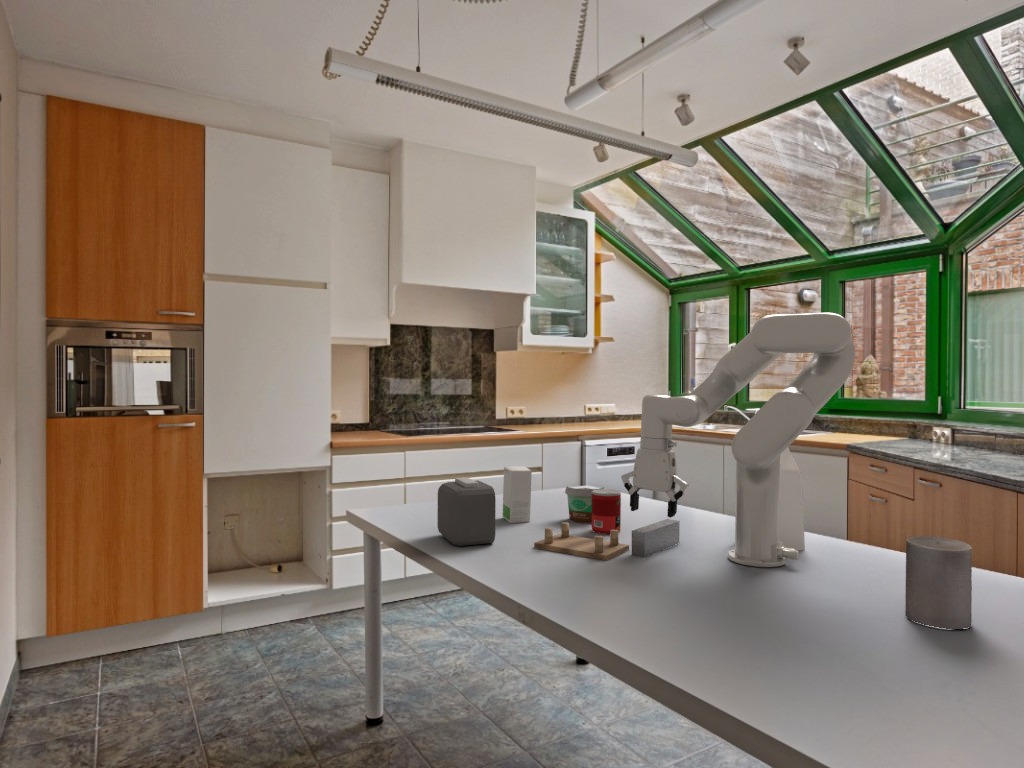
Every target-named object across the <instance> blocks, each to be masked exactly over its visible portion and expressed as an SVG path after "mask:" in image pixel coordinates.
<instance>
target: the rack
mask: <svg viewBox="0 0 1024 768" xmlns="http://www.w3.org/2000/svg"><path fill="white" fill-rule="evenodd" d="M553 530H554V528H552V527H544V538H543V539H541V540H538V541H535V542H534V543H533V548H535V549H541V550H546V551H550V552H556V553H562V554H568V555H574V556H579V557H583V558H584V557H586V558H591V559H596V560H601V561H604V562H605V561H606V562H607V561H609V560H611V559H613V558H615V557H617V556H619V555H621V554H624V553H626V552H627V551H629V550H630V544H625V543H621V542H620V543H619V532H618V530H610V534H609V541H606V540H604V536H603V535H595V536H594V538H588V537H583V536H575V535H570V523H569V522H566V521H565V522H561V526H560V530H561V531H560V533H557V534H554V531H553ZM553 534H554V535H553Z"/></svg>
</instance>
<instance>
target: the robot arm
mask: <svg viewBox="0 0 1024 768" xmlns="http://www.w3.org/2000/svg"><path fill="white" fill-rule="evenodd" d="M810 353H811V354H813V356H812V358H811V360H810V361H809V362H808V363H807V365H806V366H805V367H804V368H803V369H802V370H801V371H800V372H799V373H798V375H796V377H794V378H793V380H792V381H791V382H790V383H789V384H788V385H786V387H785V388H784V389H782V390H780V391H778V392H776V393H775V394H774V395H772V396H771V397H770V398H768V400H767V401H766V402H765V403H764V404H763V405H762V406H761V407H760V409H759V410H757V412H755V414H753V416H752V417H751V418H750V419H749V420H748V421H747V422H746V423H745V424H744V425H743V426H742V427H741V428H740V429H739V430H738V431H737V432H736V434H735V435H734V437H733V438H732V441H731V454H732V456H733V458H734V459H735V461H736V464H735V465H736V466H735V467H736V468H735V502H734V505H735V506H734V507H735V512H734V513H735V522H734V525H735V526H734V527H735V529H734V531H735V532H734V536H735V537H734V549H731V550H729V551H728V553H727V558H728V559H729V561H731V562H733V563H736V564H741V565H743V566H744V565H745V566H747V567H748V566H750V567H756V568H757V567H758V568H777V567H782V566H784V565H786V564H787V559H791V560H797V561H798V560H799V557H800V552H799V551H800V550H795V549H790V548H789V549H788V548H785V547H783V542H782V541H779V487H780V454H781V453H782V452H783V451H784V450H785V449H786V448H787V447H788V448H789V446H790V445H791V444H792V443H793V442H794V441H796V439H797V438H798V437H799V436H800V435H802V433H803V432H804V431H805V430H806V429H807V428H808V427H809V426H810V425H811V423H812V421H813V420H814V417H815V415H816V414H817V413H818V412H819V411H820V410H821V409H822V408H823V407H824V406H825V405H826V404H827V403H828V402H829V401H830V400H831V398H832V397H833V396H834V395H835V394H836V393H837V392H838V391H839V390H840V389H841V388H842V386H843V385H844V384H845V383H846V382H847V381H848V378H849V377H850V375H851V374H852V372H853V369H854V366H855V362H856V346H855V343H854V339H853V336H852V326H851V325H850V322H849V321H848V320H847V319H846V318H845V317H844V316H842V315H840V314H838V313H834V312H816V313H815V312H814V313H795V314H794V313H793V314H768V315H764V316H762V317H761V318H758V320H757V321H756V322H755V323H754V325H753V326H752V328H751V330H750V331H749V333H747V335H745V336H744V337H743V338H742V339H741V340H739V342H737V344H735V346H733V347H732V348H731V349H730V350H728V351H727V353H725V354H724V355H723V356H722V357H721V358H720V359H719V360H718V361H717V363H716V365H715V367H714V369H713V370H712V372H711V373H710V374H709V375H708V376H707V378H705V379H704V380H703V381H702V383H700V384H699V385H698V386H697V387H696V388H695V389H693V390H692V391H691V392H690V393H688V395H681V396H679V395H678V396H670V395H665V394H646V395H645V396H643V398H642V403H641V418H640V419H641V420H640V421H641V422H640V439H639V440H640V442H639V445H640V448H638V449H637V450H636V455H635V459H634V465H633V470H632V471H629V472H627V473H625V474H622V475H621V480H622V483H623V486H624V488H625V489H626V490H627V492H628V494H629V507H630V511H631V512H635V511H637V510H639V506H640V505H639V504H640V503H639V502H640V494H639V493H638V492H639V491H640V490H644V491H645V490H646V491H653V492H659V493H665V494H666V495H667V496H668V498H669V500H668V502H667V518H673V517H675V515H676V514H677V511H678V508H677V507H678V500H680V498H682V497H683V496H684V495H685V493H686V492H687V490H688V488H689V486H690V484H689V483H688V482H686V481H684V480H683V479H682V478H680V477H679V476H678V473H677V472H678V471H677V458H676V453H675V451H674V450H672V449H673V448H677V447H678V445H677V444H678V442H677V441H674V440H673V438H672V437H673V426H676V427H677V426H678V427H683V428H692V427H695V426H697V425H700V424H702V423H704V422H705V421H706V420H707V419H708V418H709V417H711V416H712V415H713V414H714V413H716V411H718V410H720V408H722V406H723V405H725V403H727V402H728V401H729V400H730V399H731V398H733V397H734V396H735V395H736V394H737V393H739V392H740V391H741V390H743V389H744V388H745V387H746V386H747V385H748V384H749V383H750V382H752V381H753V380H754V379H755V378H756V377H757V376H758V375H759V374H760V373H762V372H763V371H764V370H766V368H768V367H769V366H770V365H771V364H773V363H774V362H775V361H776V360H777V359H778V358H780V357H781V356H782V355H783V354H810ZM630 478H632V483H631V482H630ZM677 486H679V490H678V491H676V489H677Z"/></svg>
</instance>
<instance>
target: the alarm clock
mask: <svg viewBox="0 0 1024 768" xmlns="http://www.w3.org/2000/svg"><path fill="white" fill-rule="evenodd" d="M494 489H495V488H494V487H493V486H491V485H489V484H487V483H486V482H483V481H480V480H473V479H472V478H469V477H466V476H465V477H455V479H454V481H447V482H444V483H442V484H441V485H440V486H439V487H438V490H437V531H438V533H440V534H441V535H442V536H443V537H444V538H445V539H446V540H448V541H449V542H450V543H451V544H453V545H454V546H457V547H459V546H460V547H462V546H473V545H485V544H493V543H494V542H495V540H496V501H497V500H496V491H495V490H494Z"/></svg>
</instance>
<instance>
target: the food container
mask: <svg viewBox="0 0 1024 768" xmlns="http://www.w3.org/2000/svg"><path fill="white" fill-rule="evenodd" d="M597 489H598V488H589V487H581V488H574V487H569V486H566V487H565V491H564V494H566V496H567V505H568V508H567V509H568V517H569V520H570V521H571V522H574V523H581V524H592V491H593V490H597ZM599 489H605V487H601V488H599Z"/></svg>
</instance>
